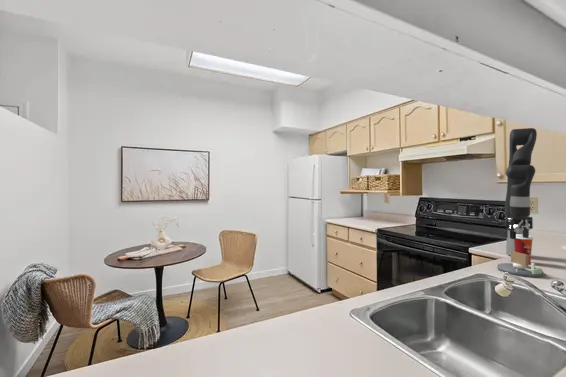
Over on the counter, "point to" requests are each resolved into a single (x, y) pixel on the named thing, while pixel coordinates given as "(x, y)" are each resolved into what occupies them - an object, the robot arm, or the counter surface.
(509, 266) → the dial plate
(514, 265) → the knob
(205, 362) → the counter surface
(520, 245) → the coffee cup
